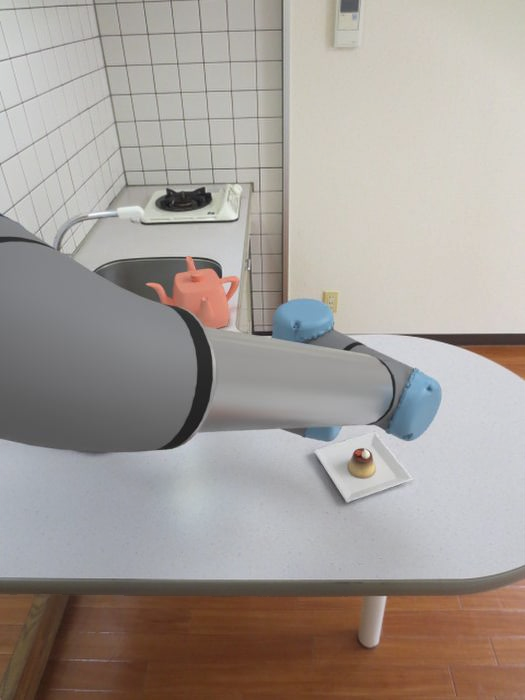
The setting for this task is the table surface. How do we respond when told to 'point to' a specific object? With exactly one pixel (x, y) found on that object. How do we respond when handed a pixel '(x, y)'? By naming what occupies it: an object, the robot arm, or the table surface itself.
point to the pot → (201, 294)
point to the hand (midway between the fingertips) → (122, 357)
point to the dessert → (362, 466)
